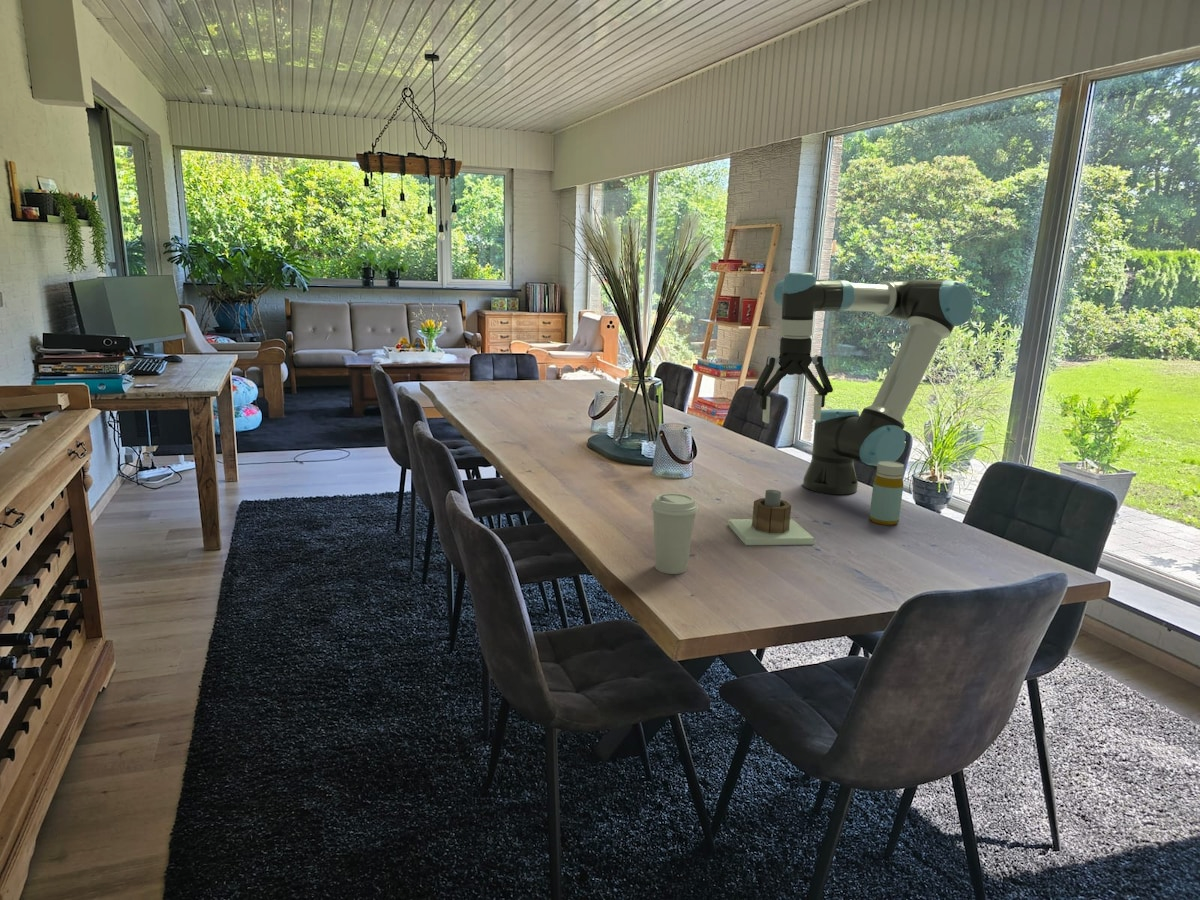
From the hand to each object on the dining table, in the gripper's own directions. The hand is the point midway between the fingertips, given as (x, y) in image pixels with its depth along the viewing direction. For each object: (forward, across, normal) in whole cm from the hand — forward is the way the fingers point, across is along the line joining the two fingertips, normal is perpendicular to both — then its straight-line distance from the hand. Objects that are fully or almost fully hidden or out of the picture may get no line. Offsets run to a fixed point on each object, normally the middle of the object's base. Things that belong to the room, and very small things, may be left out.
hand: (791, 421), depth 195 cm
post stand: (+23, +12, +18) cm, 31 cm away
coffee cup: (+22, +40, +37) cm, 59 cm away
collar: (+21, +12, +18) cm, 30 cm away
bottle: (+25, -22, +10) cm, 34 cm away
